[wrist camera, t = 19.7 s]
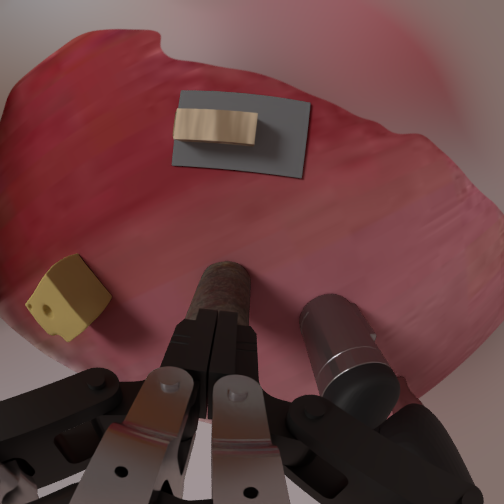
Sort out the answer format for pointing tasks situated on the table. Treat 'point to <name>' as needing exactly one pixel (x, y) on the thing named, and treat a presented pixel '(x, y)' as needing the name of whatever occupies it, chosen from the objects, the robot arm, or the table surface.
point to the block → (215, 126)
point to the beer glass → (405, 396)
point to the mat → (266, 138)
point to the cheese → (68, 298)
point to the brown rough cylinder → (223, 291)
